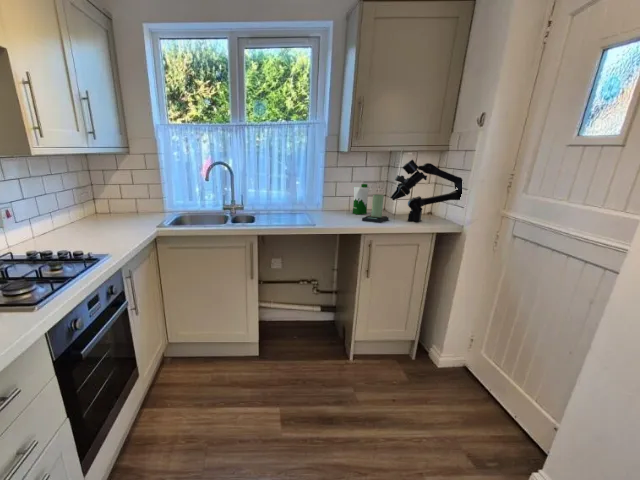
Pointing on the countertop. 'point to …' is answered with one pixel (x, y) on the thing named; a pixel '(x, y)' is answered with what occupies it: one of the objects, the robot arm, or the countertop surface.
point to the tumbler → (377, 205)
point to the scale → (375, 219)
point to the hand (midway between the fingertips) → (391, 198)
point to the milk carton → (360, 199)
